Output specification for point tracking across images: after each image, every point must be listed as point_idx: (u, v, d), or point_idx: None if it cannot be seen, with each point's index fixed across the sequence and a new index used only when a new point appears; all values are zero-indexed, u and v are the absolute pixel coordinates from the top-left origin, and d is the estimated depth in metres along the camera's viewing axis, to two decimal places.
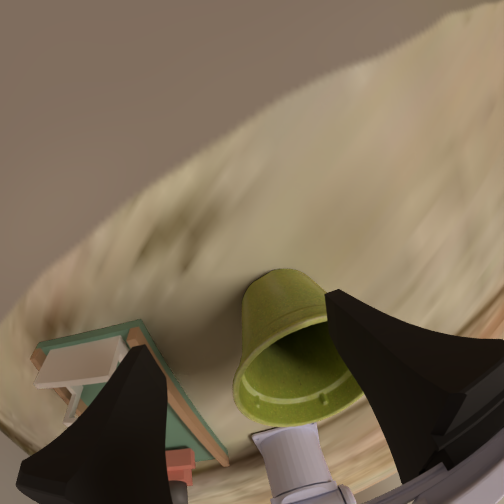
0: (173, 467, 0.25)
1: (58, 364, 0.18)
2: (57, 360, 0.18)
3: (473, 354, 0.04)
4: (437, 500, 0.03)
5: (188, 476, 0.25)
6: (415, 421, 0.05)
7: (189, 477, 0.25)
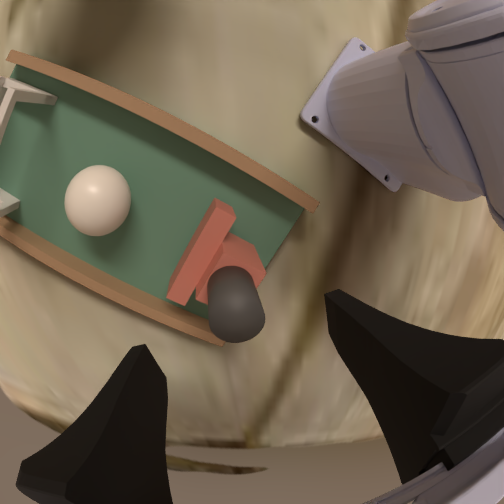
0: (199, 248, 0.15)
1: None
2: None
3: (473, 354, 0.04)
4: (437, 500, 0.03)
5: (243, 255, 0.15)
6: (415, 421, 0.05)
7: (250, 259, 0.15)
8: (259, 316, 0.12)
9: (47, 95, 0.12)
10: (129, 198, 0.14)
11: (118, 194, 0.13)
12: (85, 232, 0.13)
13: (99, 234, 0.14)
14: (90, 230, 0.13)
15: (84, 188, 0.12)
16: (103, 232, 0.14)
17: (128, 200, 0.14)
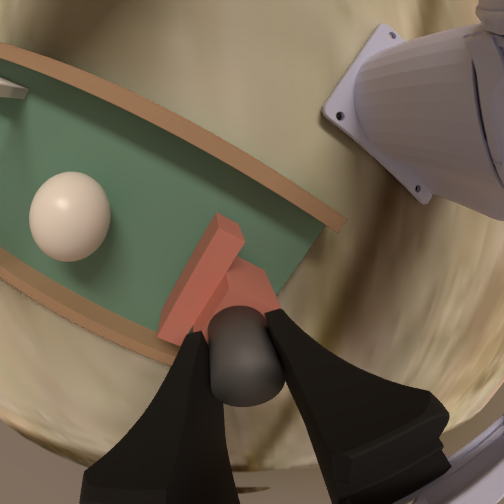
0: (197, 279, 0.12)
1: None
2: None
3: (385, 406, 0.04)
4: (437, 500, 0.03)
5: (254, 289, 0.12)
6: (325, 462, 0.05)
7: (262, 294, 0.12)
8: (277, 379, 0.09)
9: (14, 87, 0.08)
10: (107, 214, 0.11)
11: (92, 210, 0.10)
12: (54, 258, 0.10)
13: (71, 260, 0.10)
14: (59, 256, 0.10)
15: (48, 203, 0.09)
16: (75, 258, 0.10)
17: (106, 217, 0.11)
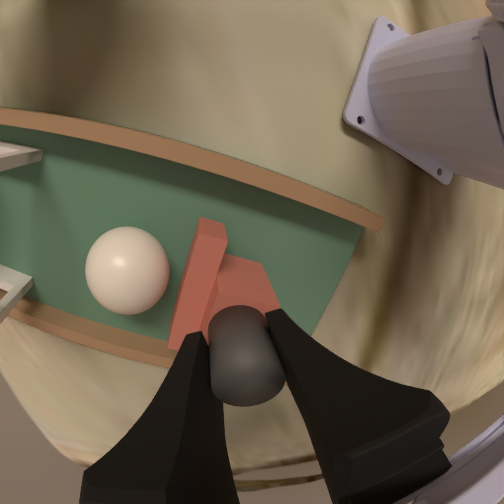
0: (190, 287, 0.12)
1: None
2: None
3: (386, 406, 0.04)
4: (437, 500, 0.03)
5: (247, 286, 0.12)
6: (325, 461, 0.05)
7: (257, 289, 0.12)
8: (276, 375, 0.09)
9: (29, 152, 0.10)
10: (167, 262, 0.12)
11: (153, 263, 0.11)
12: None
13: None
14: (129, 312, 0.11)
15: (108, 267, 0.10)
16: (145, 309, 0.12)
17: (166, 265, 0.12)
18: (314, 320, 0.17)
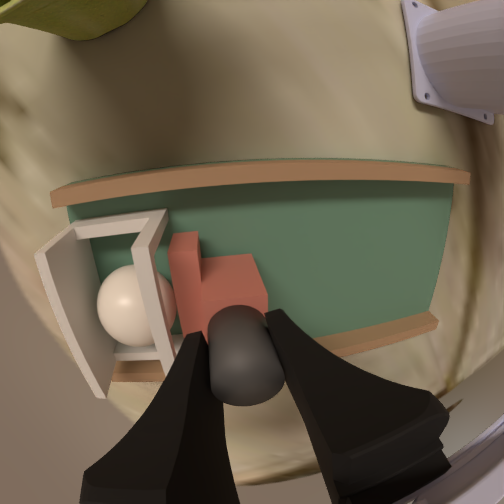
0: (183, 302, 0.12)
1: None
2: None
3: (385, 406, 0.04)
4: (437, 500, 0.03)
5: (233, 285, 0.12)
6: (325, 462, 0.05)
7: (243, 285, 0.12)
8: (270, 369, 0.08)
9: (162, 216, 0.12)
10: None
11: None
12: None
13: None
14: None
15: (167, 281, 0.13)
16: None
17: None
18: (436, 269, 0.18)
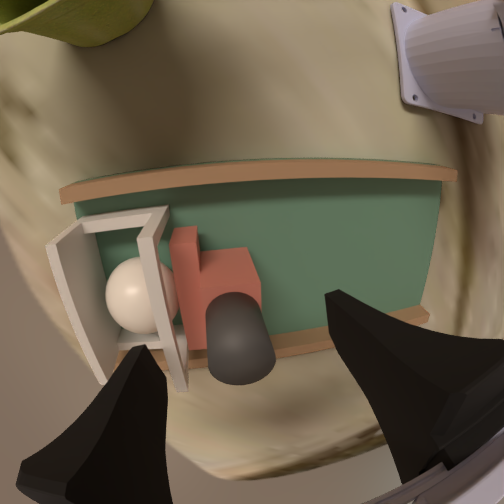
0: (183, 291, 0.13)
1: None
2: None
3: (473, 354, 0.04)
4: (437, 500, 0.03)
5: (229, 274, 0.13)
6: (415, 421, 0.05)
7: (238, 274, 0.13)
8: (262, 348, 0.09)
9: (164, 211, 0.13)
10: None
11: None
12: None
13: None
14: None
15: (171, 271, 0.14)
16: None
17: None
18: (427, 264, 0.19)
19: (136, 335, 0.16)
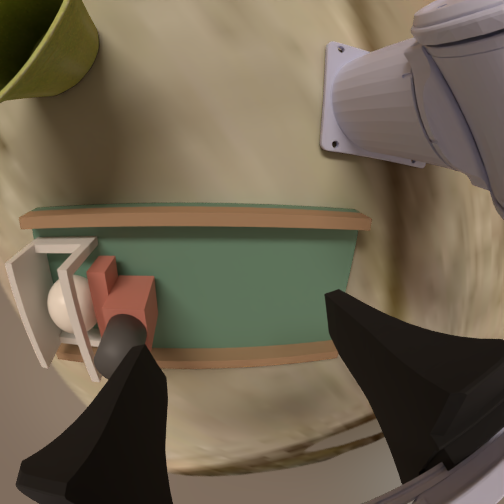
0: (98, 306, 0.15)
1: None
2: None
3: (473, 354, 0.04)
4: (437, 500, 0.03)
5: (126, 299, 0.15)
6: (415, 421, 0.05)
7: (133, 300, 0.15)
8: None
9: (89, 244, 0.16)
10: None
11: None
12: None
13: None
14: None
15: None
16: None
17: None
18: None
19: (74, 333, 0.18)
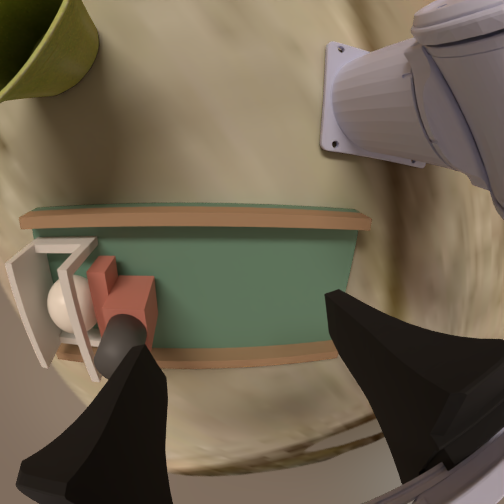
0: (98, 306, 0.15)
1: None
2: None
3: (473, 354, 0.04)
4: (437, 500, 0.03)
5: (126, 299, 0.15)
6: (415, 421, 0.05)
7: (133, 300, 0.15)
8: None
9: (89, 244, 0.16)
10: None
11: None
12: None
13: None
14: None
15: None
16: None
17: None
18: None
19: (74, 333, 0.18)
